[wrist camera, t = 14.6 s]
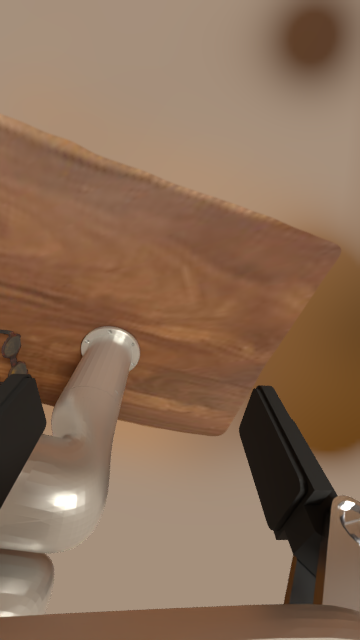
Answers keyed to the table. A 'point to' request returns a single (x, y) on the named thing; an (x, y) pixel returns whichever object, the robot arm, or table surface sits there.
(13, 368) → the eyeglasses
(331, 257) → the table surface
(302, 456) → the robot arm
